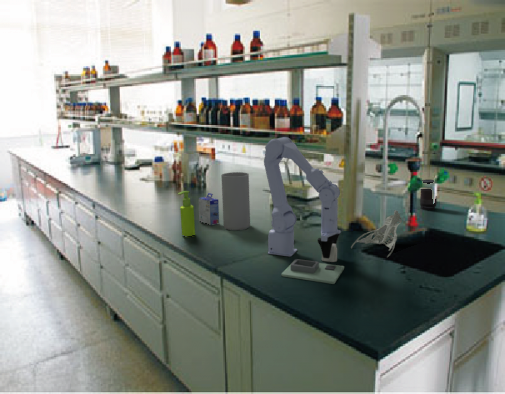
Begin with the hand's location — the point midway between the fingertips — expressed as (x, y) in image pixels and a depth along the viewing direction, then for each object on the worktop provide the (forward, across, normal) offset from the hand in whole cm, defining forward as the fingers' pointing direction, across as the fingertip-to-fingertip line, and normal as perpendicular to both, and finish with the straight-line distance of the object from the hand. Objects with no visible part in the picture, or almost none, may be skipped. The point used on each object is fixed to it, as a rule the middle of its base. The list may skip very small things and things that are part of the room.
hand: (329, 254), depth 158 cm
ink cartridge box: (+2, +29, +67) cm, 73 cm away
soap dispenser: (+2, +8, +66) cm, 67 cm away
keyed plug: (+2, 0, 0) cm, 2 cm away
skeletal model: (+3, +24, -16) cm, 29 cm away
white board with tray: (+2, -13, +2) cm, 13 cm away
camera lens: (+2, +90, -29) cm, 95 cm away
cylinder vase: (+2, +27, +51) cm, 58 cm away
